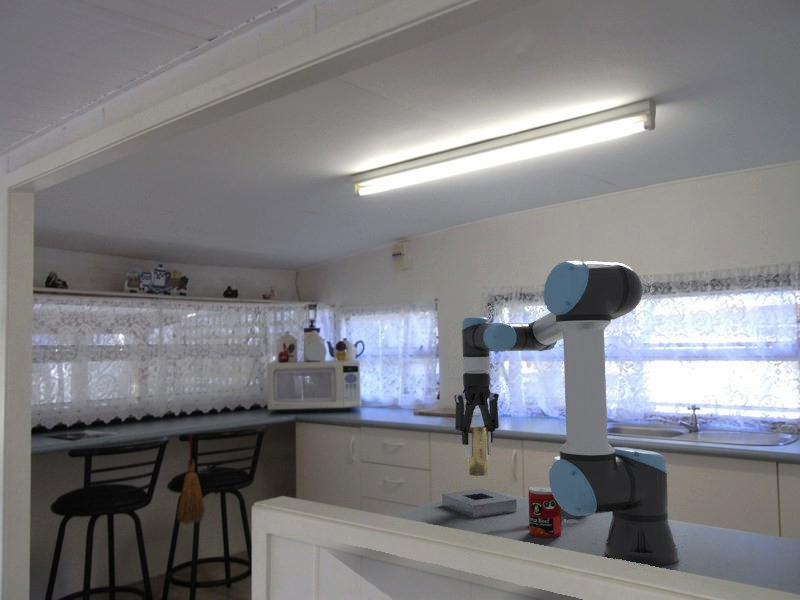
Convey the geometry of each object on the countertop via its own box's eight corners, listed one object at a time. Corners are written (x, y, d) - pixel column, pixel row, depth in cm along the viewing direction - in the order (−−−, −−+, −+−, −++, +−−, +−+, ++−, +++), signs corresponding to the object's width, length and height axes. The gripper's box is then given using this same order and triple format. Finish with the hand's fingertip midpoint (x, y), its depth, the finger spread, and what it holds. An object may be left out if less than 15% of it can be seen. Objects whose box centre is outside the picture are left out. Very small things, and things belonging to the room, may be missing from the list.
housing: (516, 516, 185) (516, 499, 185) (473, 522, 178) (473, 505, 179) (483, 504, 199) (483, 488, 199) (442, 510, 193) (442, 493, 193)
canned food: (523, 534, 168) (522, 488, 168) (540, 527, 174) (539, 483, 174) (550, 540, 162) (549, 493, 163) (567, 533, 168) (566, 487, 169)
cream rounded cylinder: (492, 474, 188) (491, 427, 189) (475, 476, 186) (474, 428, 187) (480, 471, 193) (479, 425, 194) (464, 473, 191) (463, 426, 192)
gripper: (495, 370, 199) (497, 451, 197) (441, 372, 190) (442, 456, 189) (511, 371, 192) (513, 454, 191) (455, 373, 184) (456, 460, 182)
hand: (477, 455), depth 190 cm, fingers closed on cream rounded cylinder, 6 cm apart
